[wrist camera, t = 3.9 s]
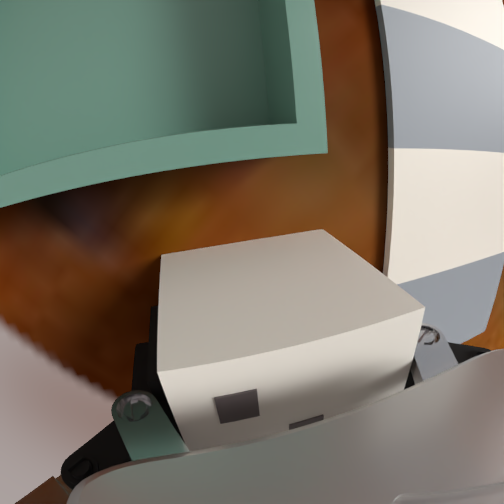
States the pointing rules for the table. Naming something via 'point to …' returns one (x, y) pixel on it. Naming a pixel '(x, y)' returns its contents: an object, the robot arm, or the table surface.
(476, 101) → the track
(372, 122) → the table surface
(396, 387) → the die
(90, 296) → the table surface
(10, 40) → the dice tray
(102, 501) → the robot arm
